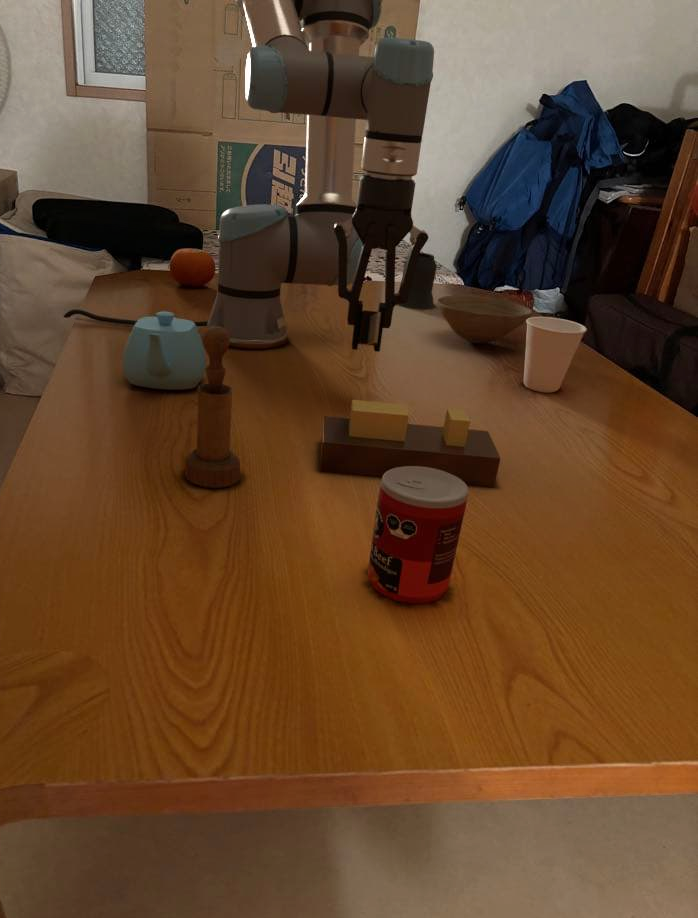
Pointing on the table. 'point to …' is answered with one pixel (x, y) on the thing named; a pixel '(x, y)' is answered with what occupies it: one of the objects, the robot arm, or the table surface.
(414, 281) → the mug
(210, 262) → the fruit
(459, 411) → the butter slice
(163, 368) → the teapot
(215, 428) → the mortar and pestle
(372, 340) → the knife
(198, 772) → the table surface
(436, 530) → the canned food
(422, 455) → the board
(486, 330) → the bowl
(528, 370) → the cup
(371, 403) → the butter
